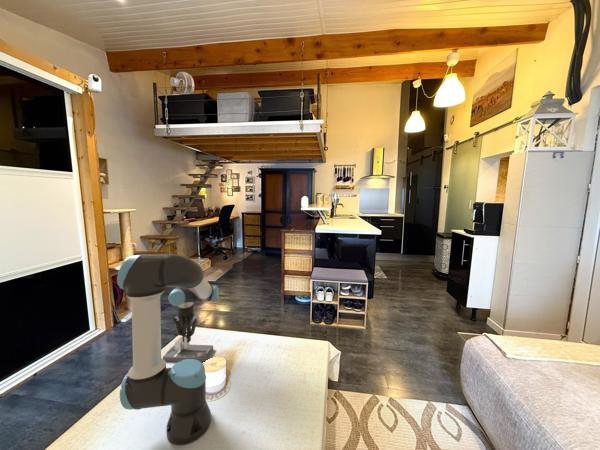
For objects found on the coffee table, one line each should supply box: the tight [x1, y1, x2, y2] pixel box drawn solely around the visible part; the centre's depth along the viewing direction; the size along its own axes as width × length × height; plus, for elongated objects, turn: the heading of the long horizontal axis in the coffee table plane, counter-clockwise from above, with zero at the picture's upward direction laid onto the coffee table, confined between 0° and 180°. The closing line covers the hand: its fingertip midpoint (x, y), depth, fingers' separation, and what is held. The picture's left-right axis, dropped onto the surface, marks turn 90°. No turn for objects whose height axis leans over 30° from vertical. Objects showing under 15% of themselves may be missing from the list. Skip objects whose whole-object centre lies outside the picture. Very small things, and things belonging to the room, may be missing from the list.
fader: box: [174, 336, 184, 353], centre depth 132 cm, size 5×3×6 cm, turn 178°
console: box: [162, 344, 214, 364], centre depth 132 cm, size 12×22×4 cm, turn 88°
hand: (186, 347), depth 132 cm, fingers closed
